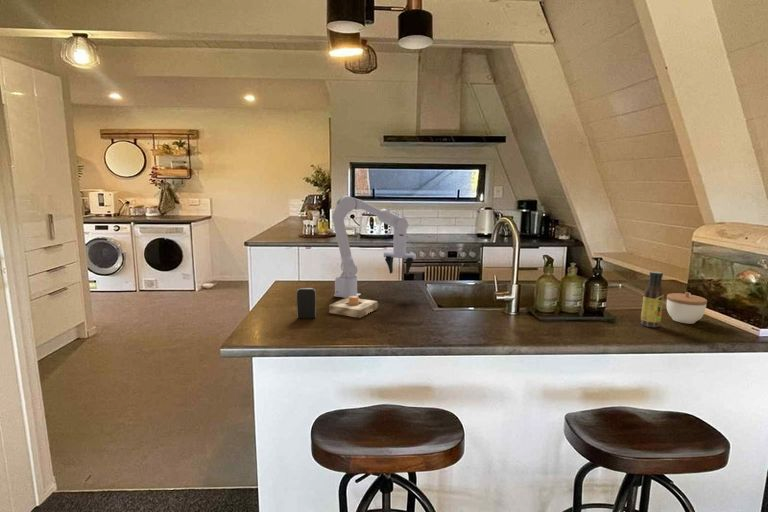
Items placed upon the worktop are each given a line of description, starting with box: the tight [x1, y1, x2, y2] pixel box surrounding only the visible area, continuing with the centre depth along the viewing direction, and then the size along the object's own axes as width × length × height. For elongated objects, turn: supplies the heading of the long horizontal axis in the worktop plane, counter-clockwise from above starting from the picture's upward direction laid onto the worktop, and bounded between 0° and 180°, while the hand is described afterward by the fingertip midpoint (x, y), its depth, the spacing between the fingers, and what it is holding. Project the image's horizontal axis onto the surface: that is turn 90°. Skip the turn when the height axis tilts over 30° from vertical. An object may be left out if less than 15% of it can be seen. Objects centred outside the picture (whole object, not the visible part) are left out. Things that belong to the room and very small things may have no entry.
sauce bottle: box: [640, 270, 665, 328], centre depth 161 cm, size 6×6×20 cm
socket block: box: [328, 297, 379, 319], centre depth 176 cm, size 14×14×3 cm
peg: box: [349, 296, 360, 306], centre depth 176 cm, size 4×4×6 cm
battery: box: [296, 287, 317, 320], centre depth 166 cm, size 7×4×11 cm, turn 95°
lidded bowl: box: [666, 291, 708, 325], centre depth 168 cm, size 13×13×11 cm
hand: (399, 273), depth 200 cm, fingers open, 7 cm apart
